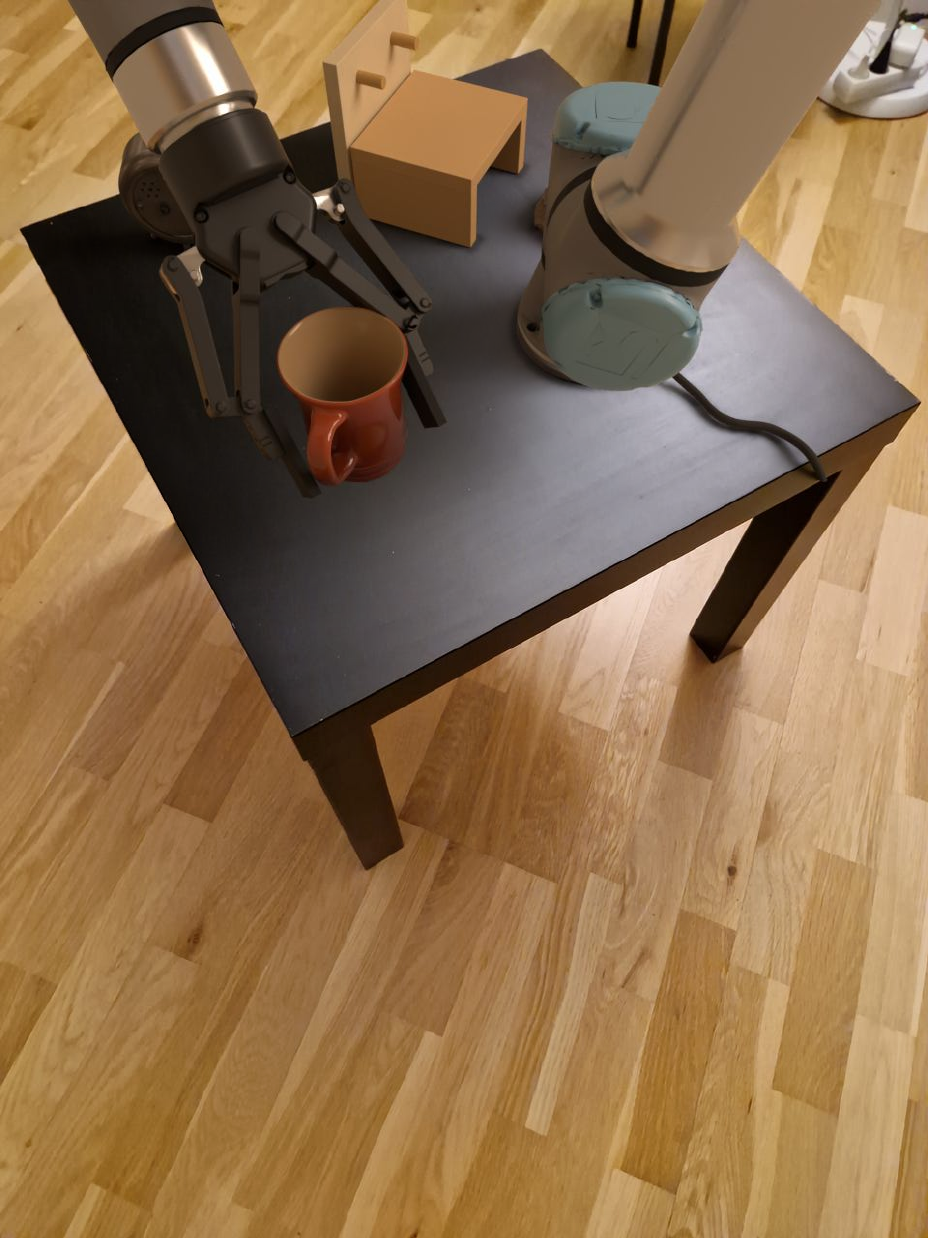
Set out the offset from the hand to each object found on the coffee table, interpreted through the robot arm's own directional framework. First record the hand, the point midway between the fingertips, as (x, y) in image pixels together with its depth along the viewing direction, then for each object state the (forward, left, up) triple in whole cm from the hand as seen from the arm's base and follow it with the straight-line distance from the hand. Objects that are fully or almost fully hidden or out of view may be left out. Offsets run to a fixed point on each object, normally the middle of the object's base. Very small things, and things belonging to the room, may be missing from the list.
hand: (375, 459), depth 59 cm
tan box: (+18, -49, -15) cm, 55 cm away
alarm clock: (+39, -29, -15) cm, 51 cm away
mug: (+3, -2, -4) cm, 5 cm away
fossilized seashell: (0, -50, -15) cm, 53 cm away
